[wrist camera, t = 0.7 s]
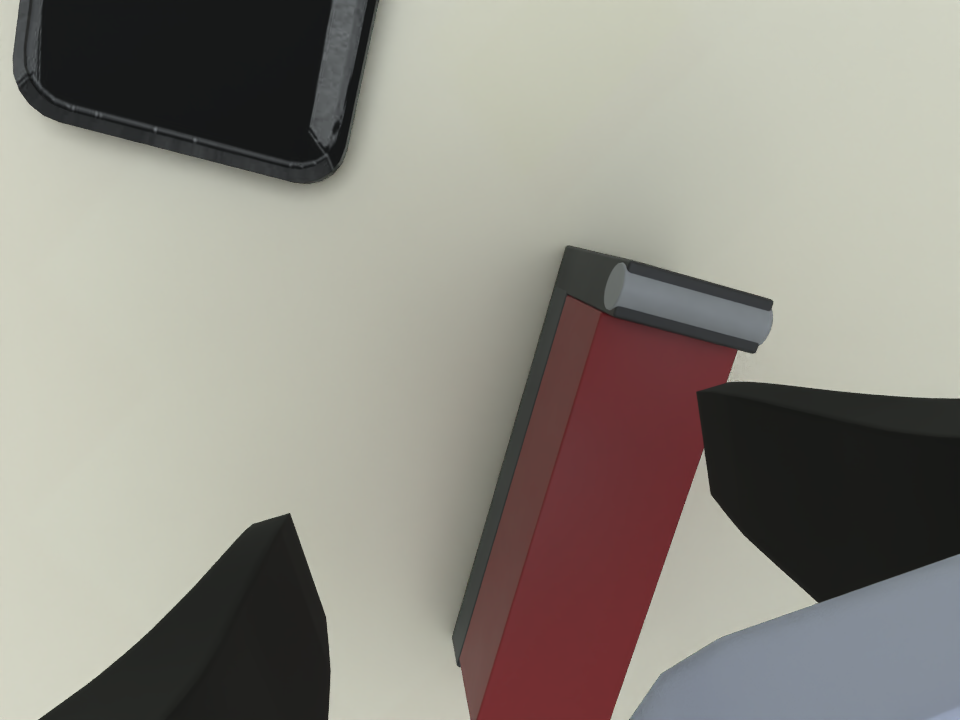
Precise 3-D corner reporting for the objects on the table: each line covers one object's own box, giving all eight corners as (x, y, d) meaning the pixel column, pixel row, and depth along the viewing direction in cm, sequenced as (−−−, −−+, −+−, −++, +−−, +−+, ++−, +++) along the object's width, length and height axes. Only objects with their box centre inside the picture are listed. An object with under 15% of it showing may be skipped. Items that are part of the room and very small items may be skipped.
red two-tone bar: (556, 655, 23) (610, 789, 18) (449, 638, 23) (472, 772, 17) (678, 276, 21) (781, 301, 16) (564, 244, 20) (630, 259, 15)
